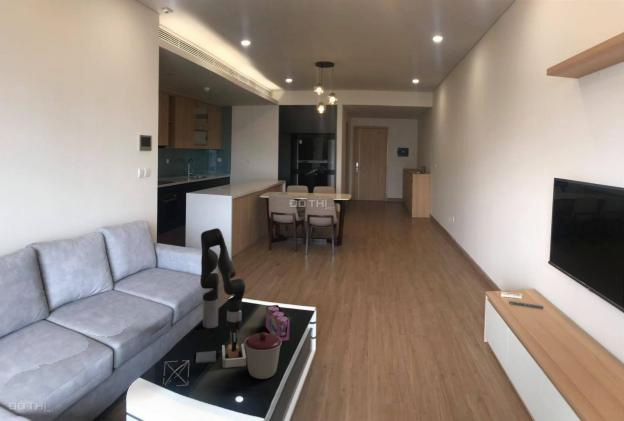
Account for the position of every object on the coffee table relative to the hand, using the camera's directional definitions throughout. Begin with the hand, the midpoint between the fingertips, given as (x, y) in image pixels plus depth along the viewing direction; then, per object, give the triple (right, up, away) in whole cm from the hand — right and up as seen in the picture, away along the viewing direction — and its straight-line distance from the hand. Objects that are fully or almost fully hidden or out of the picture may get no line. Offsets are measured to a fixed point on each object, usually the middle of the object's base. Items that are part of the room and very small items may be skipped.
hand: (233, 350), depth 205 cm
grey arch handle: (-1, -6, +5) cm, 8 cm away
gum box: (+19, -3, +37) cm, 42 cm away
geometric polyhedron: (-23, -8, -19) cm, 31 cm away
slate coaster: (-15, -5, +4) cm, 17 cm away
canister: (+16, -8, -9) cm, 20 cm away
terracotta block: (-2, -5, +8) cm, 10 cm away
